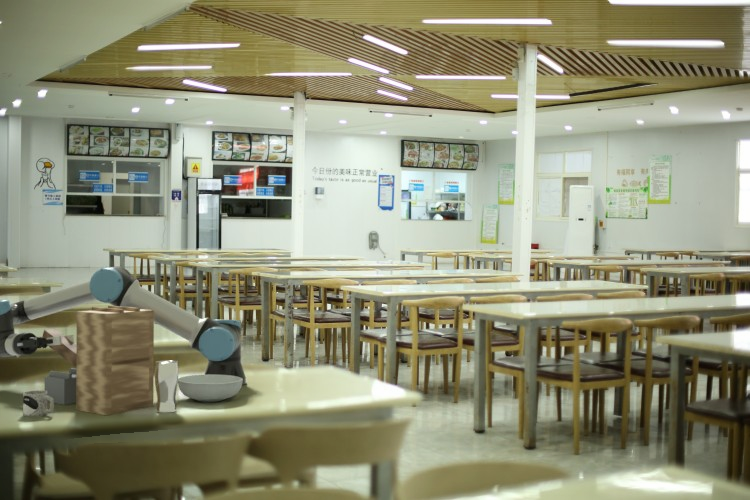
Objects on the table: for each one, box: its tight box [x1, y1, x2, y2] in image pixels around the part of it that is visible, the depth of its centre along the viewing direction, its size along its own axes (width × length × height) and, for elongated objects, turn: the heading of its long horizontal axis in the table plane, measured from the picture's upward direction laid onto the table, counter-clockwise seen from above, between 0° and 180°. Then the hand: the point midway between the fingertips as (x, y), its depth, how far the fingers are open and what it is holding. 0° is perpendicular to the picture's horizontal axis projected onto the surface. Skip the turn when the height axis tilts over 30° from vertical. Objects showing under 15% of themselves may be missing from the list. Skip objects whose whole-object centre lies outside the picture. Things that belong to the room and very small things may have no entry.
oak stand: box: [75, 305, 155, 416], centre depth 274 cm, size 14×18×31 cm
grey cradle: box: [44, 367, 76, 406], centre depth 287 cm, size 10×12×10 cm
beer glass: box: [154, 359, 179, 414], centre depth 270 cm, size 7×7×15 cm
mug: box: [22, 389, 55, 418], centre depth 263 cm, size 10×7×7 cm, turn 68°
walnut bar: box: [41, 328, 77, 368], centre depth 288 cm, size 24×4×4 cm, turn 56°
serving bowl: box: [177, 374, 243, 403], centre depth 291 cm, size 21×21×7 cm
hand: (66, 339), depth 288 cm, fingers closed on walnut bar, 4 cm apart
